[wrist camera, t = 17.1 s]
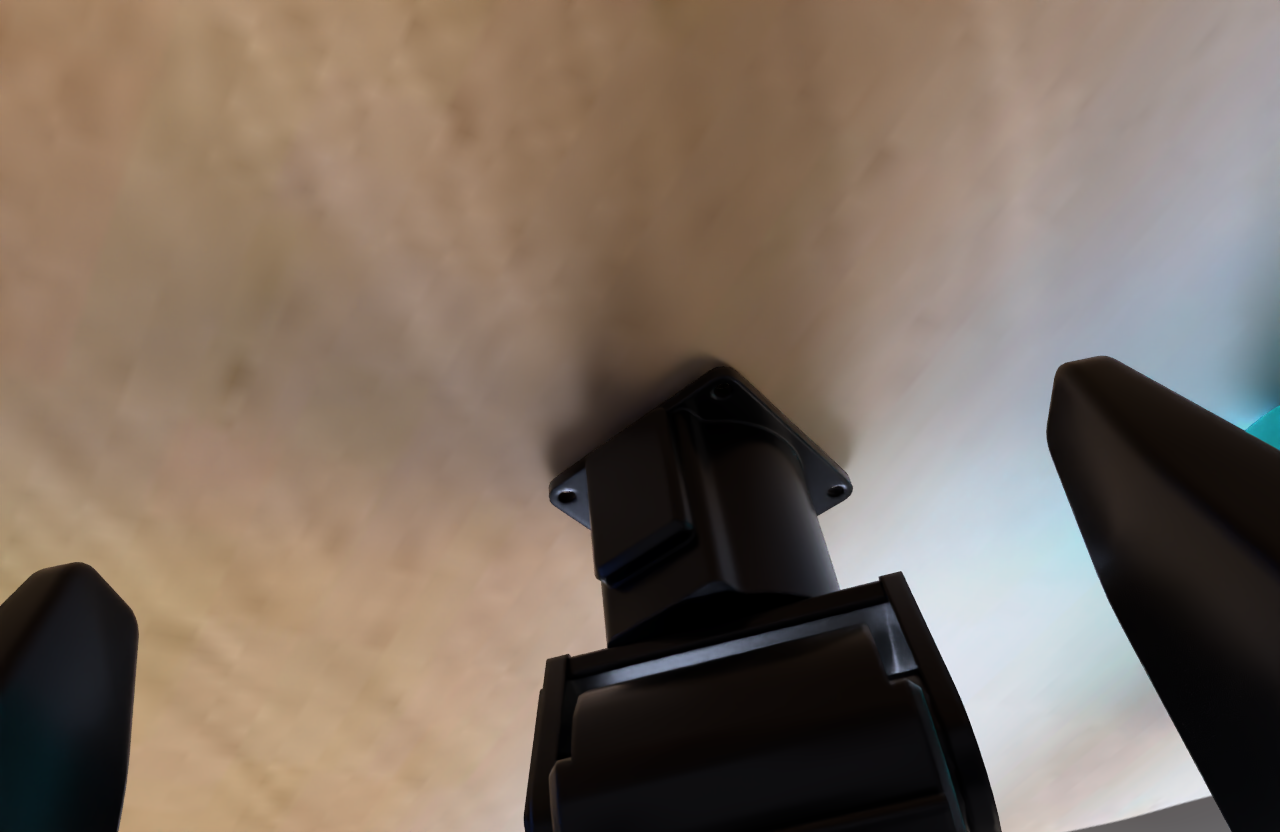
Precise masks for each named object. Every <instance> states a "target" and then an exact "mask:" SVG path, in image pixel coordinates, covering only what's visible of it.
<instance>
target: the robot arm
mask: <svg viewBox="0 0 1280 832" xmlns="http://www.w3.org/2000/svg"><path fill="white" fill-rule="evenodd" d="M721 384H729V385H728V386H727V387H724V388H716V387H717V386H718V385H721ZM1046 433H1047V443H1048V447H1049V451H1050V454H1051V457H1052V460H1053V462H1054V465H1055V467H1056V470H1057V473H1058V475H1059V478H1060V480H1061V483H1062V485H1063V488H1064V490H1065V493H1066V496H1067V498H1068V501H1069V503H1070V506H1071V508H1072V511H1073V514H1074V516H1075V519H1076V521H1077V524H1078V526H1079V529H1080V532H1081V534H1082V537H1083V539H1084V542H1085V544H1086V547H1087V549H1088V552H1089V555H1090V557H1091V560H1092V562H1093V565H1094V567H1095V570H1096V573H1097V575H1098V577H1099V580H1100V582H1101V585H1102V587H1103V589H1104V592H1105V594H1106V597H1107V599H1108V601H1109V603H1110V605H1111V607H1112V609H1113V611H1114V613H1115V615H1116V617H1117V619H1118V621H1119V623H1120V625H1121V626H1122V628H1123V630H1124V632H1125V634H1126V636H1127V638H1128V639H1129V641H1130V643H1131V645H1132V647H1133V649H1134V651H1135V653H1136V654H1137V656H1138V658H1139V660H1140V662H1141V664H1142V666H1143V667H1144V669H1145V671H1146V673H1147V675H1148V677H1149V679H1150V681H1151V682H1152V684H1153V686H1154V688H1155V690H1156V692H1157V694H1158V695H1159V697H1160V699H1161V701H1162V703H1163V705H1164V707H1165V708H1166V710H1167V712H1168V714H1169V716H1170V718H1171V720H1172V722H1173V723H1174V725H1175V727H1176V729H1177V731H1178V733H1179V735H1180V736H1181V738H1182V740H1183V742H1184V744H1185V746H1186V748H1187V750H1188V751H1189V753H1190V755H1191V757H1192V759H1193V761H1194V763H1195V764H1196V766H1197V768H1198V770H1199V772H1200V774H1201V776H1202V777H1203V779H1204V781H1205V783H1206V785H1207V787H1208V789H1209V791H1210V792H1211V794H1212V796H1213V798H1214V800H1215V802H1216V804H1217V805H1218V807H1219V809H1220V811H1221V813H1222V815H1223V817H1224V819H1225V820H1226V822H1227V824H1228V826H1229V828H1230V830H1231V832H1280V450H1278V449H1277V448H1275V447H1273V446H1271V445H1269V444H1268V443H1266V442H1264V441H1262V440H1260V439H1258V438H1257V437H1255V436H1253V435H1251V434H1249V433H1248V432H1246V431H1244V430H1242V429H1240V428H1239V427H1237V426H1235V425H1233V424H1231V423H1230V422H1228V421H1226V420H1224V419H1222V418H1221V417H1219V416H1217V415H1215V414H1213V413H1212V412H1210V411H1208V410H1206V409H1204V408H1203V407H1201V406H1199V405H1197V404H1195V403H1194V402H1192V401H1190V400H1188V399H1186V398H1185V397H1183V396H1181V395H1179V394H1177V393H1176V392H1174V391H1172V390H1170V389H1168V388H1166V387H1165V386H1163V385H1161V384H1159V383H1157V382H1156V381H1154V380H1152V379H1150V378H1148V377H1147V376H1145V375H1143V374H1141V373H1139V372H1138V371H1136V370H1134V369H1132V368H1130V367H1129V366H1127V365H1125V364H1123V363H1121V362H1120V361H1118V360H1116V359H1114V358H1111V357H1108V356H1097V357H1092V358H1087V359H1082V360H1077V361H1072V362H1067V363H1064V364H1063V365H1061V366H1060V367H1059V368H1058V370H1057V371H1056V374H1055V378H1054V383H1053V390H1052V396H1051V402H1050V409H1049V415H1048V421H1047V430H1046ZM834 486H836V487H834ZM831 487H833V488H831ZM564 491H571V492H569V493H563V492H564ZM852 491H853V486H852V484H851V481H850V478H849V476H848V474H847V473H846V472H845V471H844V470H843V469H842V468H841V467H840V466H839V465H837V464H836V463H835V462H834V461H833V460H832V459H831V458H830V457H829V456H828V455H827V454H826V453H824V452H823V451H822V450H821V449H820V448H819V447H818V446H817V445H816V444H815V443H814V442H813V441H812V440H810V439H809V438H808V437H807V436H806V435H805V434H804V433H803V432H802V431H801V430H800V429H799V428H798V427H796V426H795V425H794V424H793V423H792V422H791V421H790V420H789V419H788V418H787V417H786V416H785V415H783V414H782V413H781V412H780V411H779V410H778V409H777V408H776V407H775V406H774V405H773V404H772V403H771V402H769V401H768V400H767V399H766V398H765V397H764V396H763V395H762V394H761V393H760V392H759V391H758V390H757V389H755V388H754V387H753V386H752V385H751V384H750V383H749V382H748V381H747V380H746V379H745V378H744V377H742V376H741V375H740V374H739V373H738V372H737V371H736V370H734V369H732V368H731V367H724V366H723V367H716V368H714V369H712V370H710V371H708V372H707V373H706V374H704V375H703V376H701V377H700V378H698V379H697V380H695V381H694V382H693V383H691V384H690V385H688V386H687V387H685V388H684V389H682V390H681V391H679V392H678V393H677V394H675V395H674V396H672V397H671V398H669V399H668V400H666V401H665V402H664V403H662V404H661V405H659V406H658V407H656V408H655V409H653V410H652V411H650V412H649V413H648V414H646V415H645V416H643V417H642V418H640V419H639V420H637V421H636V422H635V423H633V424H632V425H630V426H629V427H627V428H626V429H624V430H623V431H622V432H620V433H619V434H617V435H616V436H614V437H613V438H611V439H610V440H609V441H607V442H606V443H604V444H603V445H601V446H600V447H598V448H597V449H596V450H594V451H593V452H591V453H590V454H588V455H587V456H586V457H584V458H583V459H581V460H580V461H578V462H577V463H575V464H574V465H573V466H571V467H570V468H568V469H567V470H565V471H564V472H562V473H561V474H560V475H558V476H557V477H555V478H554V479H553V480H552V481H551V482H550V485H549V498H550V502H551V503H552V504H553V505H554V506H555V507H557V508H558V509H560V510H561V511H563V512H564V513H566V514H567V515H569V516H570V517H572V518H573V519H575V520H576V521H578V522H579V523H581V524H582V525H584V526H585V527H587V528H588V529H590V530H591V539H592V550H593V562H594V573H595V576H596V578H597V579H598V580H600V581H601V586H602V597H603V607H604V618H605V629H606V639H607V648H606V649H602V650H598V651H594V652H590V653H586V654H582V655H578V656H573V657H571V656H570V655H569V654H566V655H562V656H558V657H554V658H550V659H547V661H546V668H545V676H544V683H543V689H541V690H540V694H539V702H538V710H537V717H536V725H535V733H534V741H533V748H532V756H531V764H530V771H529V779H528V787H527V795H526V802H525V810H524V827H525V832H1002V831H1001V826H1000V821H999V816H998V812H997V808H996V804H995V800H994V796H993V793H992V789H991V786H990V782H989V779H988V775H987V772H986V768H985V765H984V762H983V759H982V756H981V753H980V750H979V747H978V744H977V741H976V738H975V735H974V732H973V729H972V727H971V724H970V721H969V718H968V716H967V713H966V711H965V708H964V706H963V703H962V700H961V698H960V696H959V694H958V691H957V689H956V687H955V684H954V682H953V680H952V678H951V676H950V674H949V672H948V669H947V667H946V665H945V663H944V661H943V659H942V657H941V654H940V652H939V650H938V648H937V646H936V644H935V642H934V639H933V637H932V635H931V633H930V631H929V629H928V627H927V625H926V622H925V620H924V618H923V616H922V614H921V612H920V610H919V607H918V605H917V603H916V601H915V599H914V597H913V595H912V593H911V590H910V588H909V586H908V584H907V582H906V580H905V578H904V575H903V573H902V572H901V571H900V572H896V573H892V574H888V575H884V576H880V577H879V581H875V582H871V583H867V584H863V585H859V586H855V587H851V588H847V589H843V590H840V587H839V584H838V581H837V578H836V574H835V571H834V568H833V565H832V562H831V559H830V556H829V552H828V549H827V546H826V543H825V540H824V537H823V533H822V530H821V527H820V524H819V521H818V518H817V516H818V515H820V514H822V513H823V512H825V511H827V510H828V509H830V508H832V507H834V506H835V505H837V504H839V503H840V502H842V501H844V500H845V499H847V498H848V497H849V496H850V495H851V493H852ZM138 639H139V631H138V624H137V620H136V617H135V615H134V613H133V611H132V610H131V608H130V607H129V606H128V605H127V604H126V603H125V601H124V600H123V599H122V598H121V597H120V596H119V595H118V594H117V593H116V592H115V591H114V590H113V589H112V587H111V586H110V585H109V584H108V583H107V582H106V581H105V580H104V579H103V578H102V577H101V576H100V575H99V573H98V572H97V571H96V570H95V569H94V568H92V567H91V566H90V565H87V564H85V563H82V562H74V563H69V564H64V565H59V566H54V567H49V568H45V569H42V570H39V571H37V572H35V573H34V574H32V575H31V576H30V577H29V578H28V579H27V580H26V581H25V582H24V583H23V584H22V585H21V586H20V587H19V588H18V589H17V590H16V591H15V592H14V593H13V594H12V595H11V596H10V597H9V598H8V599H7V600H6V601H5V602H4V603H3V604H2V605H1V606H0V832H118V830H119V825H120V819H121V814H122V808H123V802H124V796H125V790H126V783H127V774H128V765H129V755H130V742H131V729H132V716H133V703H134V690H135V677H136V664H137V651H138Z"/></svg>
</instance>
